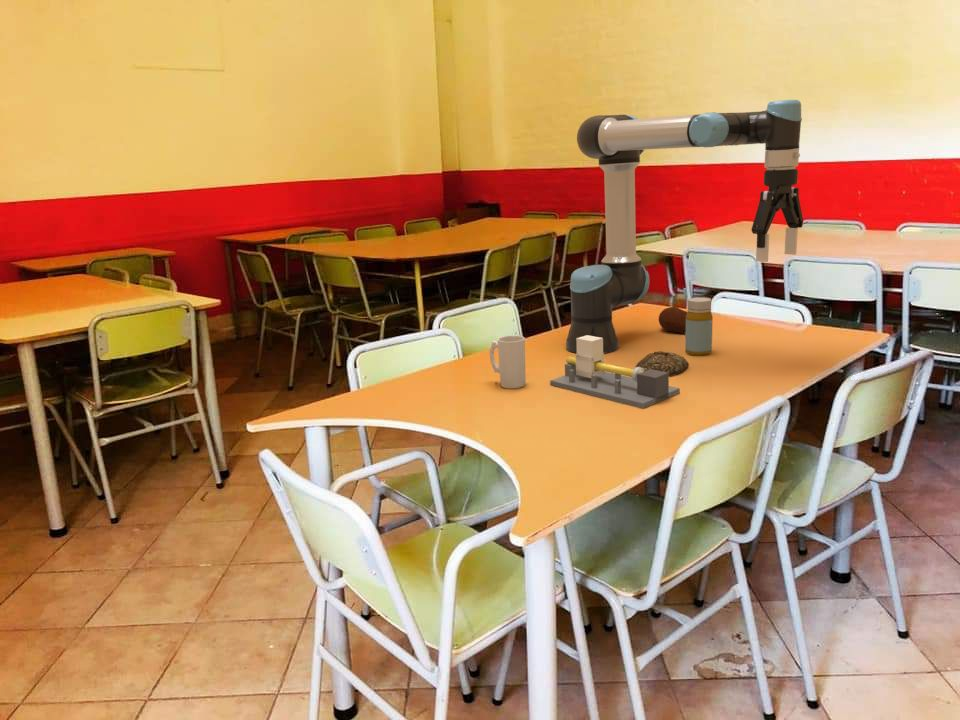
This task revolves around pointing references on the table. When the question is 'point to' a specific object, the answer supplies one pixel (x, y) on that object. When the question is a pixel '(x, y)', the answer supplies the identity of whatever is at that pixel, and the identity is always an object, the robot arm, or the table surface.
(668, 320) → the potato
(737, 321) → the table surface
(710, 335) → the bottle
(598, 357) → the sleeve
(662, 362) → the bread roll
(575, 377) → the yellow rod slider
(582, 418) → the table surface
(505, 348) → the mug
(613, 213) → the robot arm
